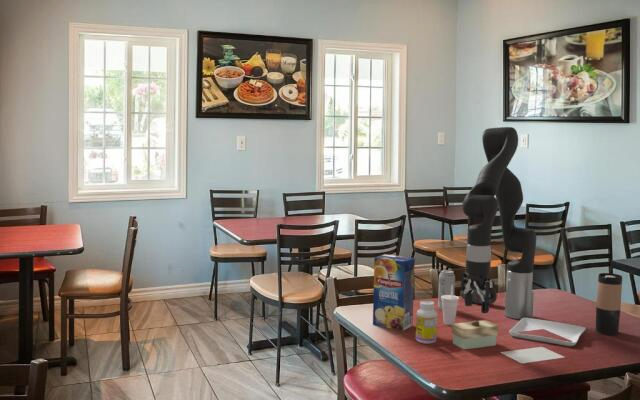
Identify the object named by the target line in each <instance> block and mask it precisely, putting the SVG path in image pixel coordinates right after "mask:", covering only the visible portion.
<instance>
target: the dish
mask: <svg viewBox="0 0 640 400" xmlns="http://www.w3.org/2000/svg"><path fill="white" fill-rule="evenodd" d="M452 344H453V345H455V346H457V347H459V348H460V349H462V350H470V349H478V348H484V347H485V348H486V347H494V346H497V335H494V336H486V337H477V338H469V339H462V338H460V337H458V336H456V335H454V334H453V335H452Z"/></svg>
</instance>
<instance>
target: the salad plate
mask: <svg viewBox="0 0 640 400" xmlns="http://www.w3.org/2000/svg"><path fill="white" fill-rule="evenodd" d="M586 329H587V328H586V327H585V326H581V325H574V324H571V323H570V324H569V323H565V322H559V321H558V322H557V321H551V320H545V319H538V318H532V317H530V318H522V319H519V321H518V322H517V323H516V324H515V325H514V326H512V327H511V328H510V329H509V331H508V333H509V334H510V335H511V336H512V337H514V338H519V339H524V340H525V339H526V340H530V341H536V342H537V341H538V342H542V343H543V342H544V343H549V344H553V345H554V344H555V345H559V346H560V345H561V346H565V347H575V345H576V344H577V343H578V341H579V338H580V337H581V336H582V334H583V333H584V332H585V331H586ZM538 330H545V331H547V332H549V333H551V334H555V335H557V336H560V337H562V338H563V339H566V340H569V341H566V340H561V339H557V338H552V337H546V336H542V335H534V334H525V333H522V332H529V331H538Z"/></svg>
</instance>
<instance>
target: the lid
mask: <svg viewBox="0 0 640 400" xmlns="http://www.w3.org/2000/svg"><path fill="white" fill-rule="evenodd" d="M451 334H454V335H456V336H458V337H460V338H462V339H469V338H477V337H486V336H494V335H496V336H498V335H499V325H498V324H495V323H494V322H491V321H488V320H487V319H485V320H482V319H481V320H471V321H466V322H458V323H456V322H455V323H454V324H452V325H451Z"/></svg>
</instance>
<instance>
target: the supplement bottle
mask: <svg viewBox="0 0 640 400" xmlns="http://www.w3.org/2000/svg"><path fill="white" fill-rule="evenodd" d="M419 307H420V308H419V309H417V311H416V317H415V318H416V320H415V321H416V322H415V340H416V342H418V343H420V344H426V345H427V344H434V343H436V341H437V329H438V328H437V327H438V313H437V310H435V309H434V308H435V302H434V301H433V300H421V301H419Z"/></svg>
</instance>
